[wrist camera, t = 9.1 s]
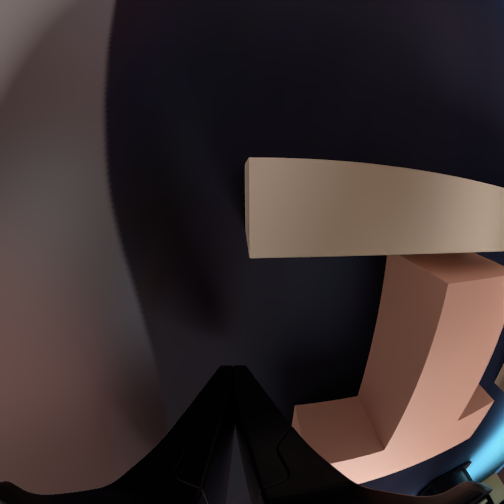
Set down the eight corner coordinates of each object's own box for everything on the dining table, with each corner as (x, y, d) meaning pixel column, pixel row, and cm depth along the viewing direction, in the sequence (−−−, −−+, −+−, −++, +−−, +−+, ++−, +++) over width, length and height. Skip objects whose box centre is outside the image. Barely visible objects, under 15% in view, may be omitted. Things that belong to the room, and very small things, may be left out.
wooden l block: (553, 206, 9) (584, 215, 6) (507, 375, 12) (527, 394, 10) (244, 164, 8) (248, 157, 5) (249, 447, 11) (252, 495, 9)
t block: (495, 246, 9) (546, 267, 6) (443, 402, 12) (469, 437, 9) (307, 250, 9) (346, 294, 6) (289, 441, 12) (300, 495, 8)
